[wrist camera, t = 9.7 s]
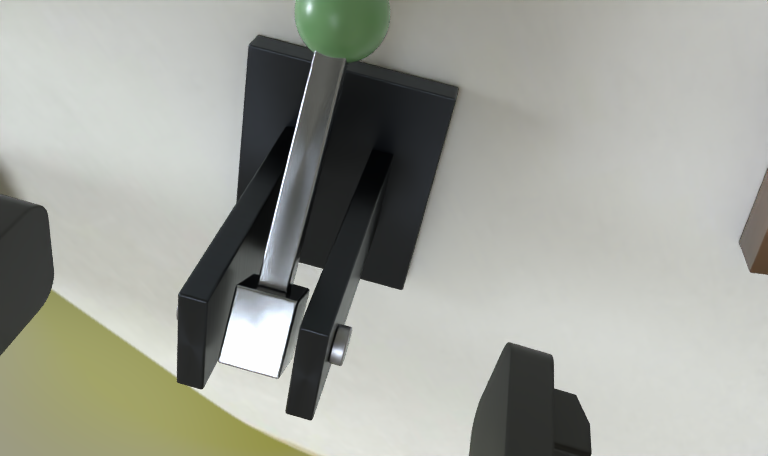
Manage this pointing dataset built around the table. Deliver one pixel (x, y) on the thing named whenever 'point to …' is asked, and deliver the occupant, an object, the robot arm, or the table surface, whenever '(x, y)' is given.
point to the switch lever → (299, 186)
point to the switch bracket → (319, 206)
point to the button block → (757, 233)
